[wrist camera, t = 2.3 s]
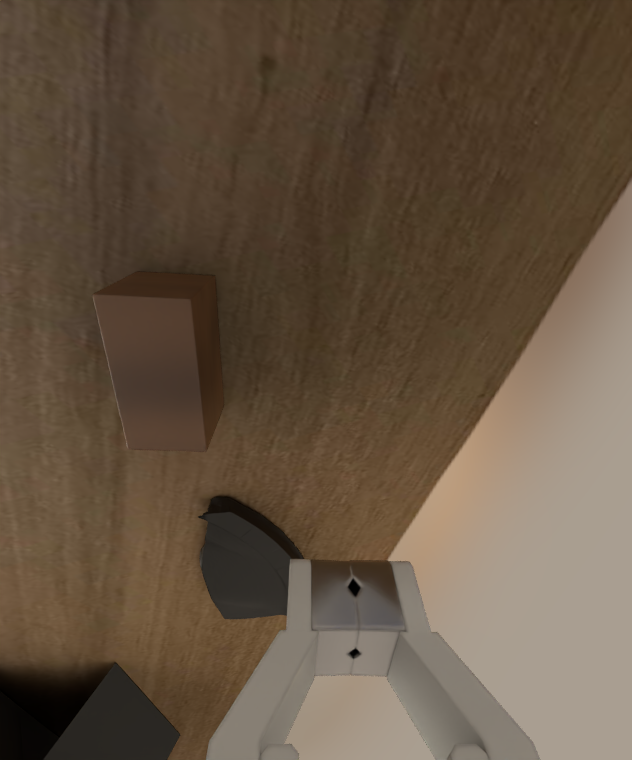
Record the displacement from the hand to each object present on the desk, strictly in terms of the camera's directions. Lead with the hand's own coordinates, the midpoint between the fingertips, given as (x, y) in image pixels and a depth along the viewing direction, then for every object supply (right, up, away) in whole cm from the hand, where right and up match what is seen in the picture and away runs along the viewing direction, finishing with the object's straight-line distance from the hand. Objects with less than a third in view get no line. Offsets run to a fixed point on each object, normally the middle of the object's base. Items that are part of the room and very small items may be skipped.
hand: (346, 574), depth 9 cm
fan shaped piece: (-5, -10, +21) cm, 24 cm away
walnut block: (-8, +7, +12) cm, 16 cm away
